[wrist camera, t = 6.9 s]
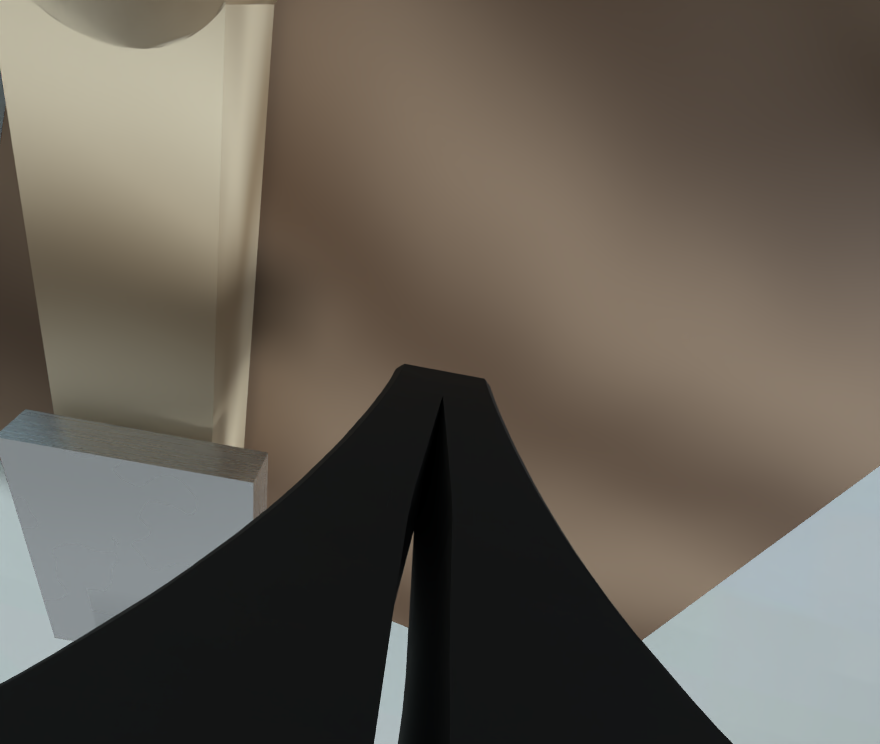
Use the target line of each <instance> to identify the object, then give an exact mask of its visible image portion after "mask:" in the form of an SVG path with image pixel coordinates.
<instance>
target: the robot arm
mask: <svg viewBox="0 0 880 744" xmlns="http://www.w3.org/2000/svg"><path fill="white" fill-rule="evenodd" d="M413 532H414V536H413ZM412 536H413V553H412V571H411V590H410V609H409V627H408V646H407V665H406V680H405V691H404V701H403V711H402V719H401V726H400V733H399V740H398V744H732V743H731V741H730V740H729V739H728V738H727V737H726V736H725V735H724V734H723V733H722V732H721V731H720V730H719V729H718V728H717V727H716V726H715V725H714V723H713V722H712V721H711V720H710V719H709V718H708V717H707V716H706V715H705V713H704V712H703V711H702V710H701V709H700V708H699V707H698V706H697V705H696V704H695V702H694V701H693V700H692V699H691V698H690V697H689V696H688V694H687V693H686V692H685V691H684V690H683V688H682V687H681V686H680V685H679V684H678V683H677V681H676V680H675V679H674V678H673V677H672V676H671V674H670V673H669V672H668V671H667V670H666V669H665V667H664V666H663V665H662V664H661V663H660V662H659V660H658V659H657V658H656V657H655V656H654V655H653V653H652V652H651V651H650V650H649V649H648V647H647V646H646V645H645V644H644V643H643V642H642V640H641V639H640V638H639V637H638V636H637V635H636V633H635V632H634V631H633V630H632V628H631V627H630V626H629V625H628V623H627V622H626V621H625V619H624V618H623V617H622V616H621V614H620V613H619V612H618V610H617V609H616V608H615V606H614V605H613V604H612V603H611V601H610V600H609V599H608V597H607V596H606V594H605V593H604V592H603V590H602V589H601V587H600V586H599V585H598V583H597V582H596V580H595V579H594V578H593V576H592V575H591V574H590V572H589V571H588V569H587V568H586V566H585V565H584V564H583V562H582V561H581V559H580V558H579V556H578V555H577V553H576V552H575V550H574V549H573V547H572V546H571V544H570V542H569V541H568V539H567V538H566V536H565V535H564V533H563V531H562V530H561V528H560V527H559V525H558V523H557V522H556V520H555V518H554V517H553V515H552V513H551V512H550V510H549V508H548V507H547V505H546V503H545V502H544V500H543V498H542V496H541V494H540V493H539V491H538V489H537V487H536V486H535V484H534V482H533V480H532V478H531V476H530V474H529V472H528V470H527V468H526V467H525V465H524V463H523V461H522V459H521V457H520V455H519V453H518V451H517V449H516V447H515V445H514V443H513V441H512V439H511V436H510V434H509V432H508V430H507V428H506V425H505V423H504V421H503V419H502V416H501V414H500V411H499V409H498V406H497V404H496V401H495V399H494V396H493V393H492V391H491V388H490V386H489V384H488V383H487V381H486V380H485V379H484V378H479V377H473V376H468V375H463V374H457V373H452V372H447V371H441V370H436V369H431V368H425V367H420V366H415V365H409V364H403V365H401V366H400V367H398V368H396V369H395V371H394V373H393V375H392V377H391V378H390V380H389V382H388V383H387V385H386V386H385V388H384V389H383V390H382V392H381V393H380V394H379V396H378V397H377V398H376V400H375V401H374V402H373V403H372V405H371V406H370V407H369V408H368V410H367V411H366V412H365V413H364V414H363V415H362V417H361V418H360V419H359V420H358V421H357V422H356V423H355V425H354V426H353V427H352V428H351V429H350V430H349V431H348V432H347V434H346V435H345V436H344V437H343V438H342V439H341V440H340V441H339V442H338V443H337V444H336V445H335V446H334V447H333V448H332V449H331V450H330V451H329V452H328V453H327V454H326V455H325V456H324V457H323V458H322V459H321V460H320V461H319V462H318V463H317V464H316V465H315V466H314V467H313V468H312V469H311V470H310V471H309V472H308V473H307V474H306V475H305V476H304V477H303V478H302V479H301V480H299V481H298V482H297V483H296V484H295V485H294V486H293V487H292V488H291V489H289V490H288V491H287V492H286V493H285V494H284V495H283V496H281V497H280V498H279V499H278V500H277V501H276V502H274V503H273V504H272V505H271V506H270V507H269V508H267V509H266V510H265V511H264V512H262V513H261V514H260V515H259V516H257V517H256V518H255V519H254V520H252V521H251V522H250V523H249V524H247V525H246V526H245V527H244V528H242V529H241V530H240V531H239V532H237V533H236V534H235V535H233V536H232V537H231V538H229V539H228V540H226V541H225V542H224V543H222V544H221V545H220V546H218V547H217V548H216V549H214V550H213V551H211V552H210V553H209V554H207V555H206V556H205V557H203V558H202V559H200V560H199V561H198V562H196V563H195V564H194V565H192V566H191V567H190V568H188V569H187V570H185V571H184V572H182V573H181V574H179V575H178V576H176V577H175V578H174V579H172V580H171V581H169V582H168V583H166V584H165V585H163V586H162V587H160V588H159V589H157V590H156V591H154V592H153V593H151V594H150V595H148V596H146V597H145V598H143V599H142V600H140V601H138V602H137V603H135V604H133V605H132V606H130V607H129V608H127V609H125V610H124V611H122V612H121V613H119V614H117V615H116V616H114V617H112V618H111V619H109V620H108V621H106V622H104V623H103V624H101V625H99V626H98V627H96V628H95V629H93V630H91V631H90V632H88V633H87V634H85V635H83V636H82V637H80V638H78V639H77V640H75V641H74V642H72V643H70V644H69V645H67V646H66V647H64V648H62V649H61V650H59V651H57V652H56V653H54V654H52V655H51V656H49V657H47V658H46V659H44V660H42V661H40V662H39V663H37V664H35V665H33V666H32V667H30V668H28V669H26V670H25V671H23V672H21V673H20V674H18V675H16V676H14V677H12V678H10V679H8V680H7V681H5V682H3V683H1V684H0V744H374V739H375V732H376V725H377V718H378V711H379V705H380V698H381V691H382V684H383V677H384V671H385V664H386V657H387V650H388V643H389V637H390V630H391V623H392V617H393V610H394V605H395V601H396V597H397V593H398V589H399V586H400V582H401V578H402V574H403V570H404V566H405V563H406V559H407V555H408V551H409V547H410V544H411V540H412Z"/></svg>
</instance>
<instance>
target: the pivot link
mask: <svg viewBox="0 0 880 744" xmlns="http://www.w3.org/2000/svg"><path fill="white" fill-rule="evenodd" d="M276 2H277V0H0V69H1V76H2V82H3V89H4V95H5V102H6V108H7V114H8V121H9V127H10V134H11V140H12V147H13V153H14V159H15V166H16V172H17V179H18V185H19V191H20V198H21V204H22V211H23V217H24V224H25V230H26V236H27V243H28V249H29V256H30V262H31V269H32V275H33V281H34V288H35V294H36V301H37V307H38V314H39V320H40V326H41V333H42V339H43V346H44V352H45V359H46V365H47V371H48V378H49V384H50V391H51V397H52V404H53V410H54V414H56V415H61V416H67V417H72V418H78V419H84V420H89V421H95V422H100V423H106V424H111V425H117V426H123V427H128V428H134V429H139V430H145V431H150V432H156V433H162V434H167V435H173V436H178V437H184V438H189V439H195V440H201V441H206V442H212V443H217V444H223V445H229V446H234V447H240V448H244V439H245V424H246V410H247V395H248V381H249V366H250V352H251V337H252V322H253V308H254V293H255V279H256V264H257V250H258V235H259V220H260V206H261V191H262V177H263V162H264V148H265V133H266V119H267V104H268V89H269V75H270V60H271V46H272V31H273V17H274V4H275V3H276Z"/></svg>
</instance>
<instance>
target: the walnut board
mask: <svg viewBox="0 0 880 744" xmlns="http://www.w3.org/2000/svg"><path fill="white" fill-rule="evenodd" d="M403 364H409V365H415V366H420V367H425V368H431V369H436V370H441V371H447V372H452V373H457V374H463V375H468V376H473V377H479V378H484V379H485V380H486V381H487V383H488V384H489V386H490V388H491V391H492V393H493V396H494V399H495V401H496V404H497V406H498V409H499V411H500V414H501V416H502V419H503V421H504V423H505V425H506V428H507V430H508V432H509V434H510V436H511V439H512V441H513V443H514V445H515V447H516V449H517V451H518V453H519V455H520V457H521V459H522V461H523V463H524V465H525V467H526V468H527V470H528V472H529V474H530V476H531V478H532V480H533V482H534V484H535V486H536V487H537V489H538V491H539V493H540V494H541V496H542V498H543V500H544V502H545V503H546V505H547V507H548V508H549V510H550V512H551V513H552V515H553V517H554V518H555V520H556V522H557V523H558V525H559V527H560V528H561V530H562V531H563V533H564V535H565V536H566V538H567V539H568V541H569V542H570V544H571V546H572V547H573V549H574V550H575V552H576V553H577V555H578V556H579V558H580V559H581V561H582V562H583V564H584V565H585V566H586V568H587V569H588V571H589V572H590V574H591V575H592V576H593V578H594V579H595V580H596V582H597V583H598V585H599V586H600V587H601V589H602V590H603V592H604V593H605V594H606V596H607V597H608V599H609V600H610V601H611V603H612V604H613V605H614V606H615V608H616V609H617V610H618V612H619V613H620V614H621V616H622V617H623V618H624V619H625V621H626V622H627V623H628V625H629V626H630V627H631V628H632V630H633V631H634V632H635V633H636V635H637V636H638V637H639V638H640V639H641V640H643V639H644V638H646V637H647V636H648V635H650V634H651V633H652V632H654V631H655V630H656V629H658V628H659V627H661V626H662V625H663V624H665V623H666V622H667V621H669V620H670V619H671V618H673V617H674V616H676V615H677V614H678V613H680V612H681V611H682V610H684V609H685V608H686V607H688V606H689V605H691V604H692V603H693V602H695V601H696V600H697V599H699V598H700V597H701V596H703V595H704V594H706V593H707V592H708V591H710V590H711V589H712V588H714V587H715V586H716V585H718V584H719V583H721V582H722V581H723V580H725V579H726V578H727V577H729V576H730V575H731V574H733V573H734V572H736V571H737V570H738V569H740V568H741V567H742V566H744V565H745V564H746V563H748V562H749V561H751V560H752V559H753V558H755V557H756V556H757V555H759V554H760V553H761V552H763V551H764V550H766V549H767V548H768V547H770V546H771V545H772V544H774V543H775V542H776V541H778V540H779V539H781V538H782V537H783V536H785V535H786V534H787V533H789V532H790V531H791V530H793V529H794V528H796V527H797V526H798V525H800V524H801V523H802V522H804V521H805V520H806V519H808V518H809V517H811V516H812V515H813V514H815V513H816V512H817V511H819V510H820V509H821V508H823V507H824V506H826V505H827V504H828V503H830V502H831V501H832V500H834V499H835V498H836V497H838V496H839V495H841V494H842V493H843V492H845V491H846V490H847V489H849V488H850V487H851V486H853V485H854V484H856V483H857V482H858V481H860V480H861V479H862V478H864V477H865V476H866V475H868V474H869V473H871V472H872V471H873V470H875V469H876V468H877V467H879V466H880V0H277V2H276V3H275V4H274V17H273V31H272V46H271V60H270V75H269V89H268V104H267V119H266V133H265V148H264V162H263V177H262V191H261V206H260V220H259V235H258V250H257V264H256V279H255V293H254V308H253V322H252V337H251V352H250V366H249V381H248V395H247V410H246V424H245V439H244V448H245V449H251V450H256V451H262V452H268V481H267V508H269V507H270V506H271V505H272V504H273V503H274V502H276V501H277V500H278V499H279V498H280V497H281V496H283V495H284V494H285V493H286V492H287V491H288V490H289V489H291V488H292V487H293V486H294V485H295V484H296V483H297V482H298V481H299V480H301V479H302V478H303V477H304V476H305V475H306V474H307V473H308V472H309V471H310V470H311V469H312V468H313V467H314V466H315V465H316V464H317V463H318V462H319V461H320V460H321V459H322V458H323V457H324V456H325V455H326V454H327V453H328V452H329V451H330V450H331V449H332V448H333V447H334V446H335V445H336V444H337V443H338V442H339V441H340V440H341V439H342V438H343V437H344V436H345V435H346V434H347V432H348V431H349V430H350V429H351V428H352V427H353V426H354V425H355V423H356V422H357V421H358V420H359V419H360V418H361V417H362V415H363V414H364V413H365V412H366V411H367V410H368V408H369V407H370V406H371V405H372V403H373V402H374V401H375V400H376V398H377V397H378V396H379V394H380V393H381V392H382V390H383V389H384V388H385V386H386V385H387V383H388V382H389V380H390V378H391V377H392V375H393V373H394V371H395V369H396V368H398V367H400V366H401V365H403ZM25 409H28V410H33V411H39V412H45V413H50V414H54V410H53V404H52V397H51V391H50V384H49V378H48V371H47V365H46V359H45V352H44V346H43V339H42V333H41V326H40V320H39V314H38V307H37V301H36V294H35V288H34V281H33V275H32V269H31V262H30V256H29V249H28V243H27V236H26V230H25V224H24V217H23V211H22V204H21V198H20V191H19V185H18V179H17V172H16V166H15V159H14V153H13V147H12V140H11V134H10V127H9V121H8V114H7V108H6V106H5V113H4V120H3V126H2V133H1V140H0V431H1V430H2V429H4V428H5V427H6V426H7V425H8V424H9V423H10V422H12V421H13V420H14V419H15V418H16V417H17V416H18V415H19V414H21V413H22V412H23V411H24V410H25ZM0 460H1V458H0ZM413 536H414V532H413ZM413 536H412V540H411V544H410V547H409V551H408V555H407V559H406V563H405V566H404V570H403V574H402V578H401V582H400V586H399V589H398V593H397V597H396V601H395V605H394V610H393V617H392V621H393V622H396V623H398V624H401V625H403V626H405V627H409V609H410V590H411V571H412V553H413Z"/></svg>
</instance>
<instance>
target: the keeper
mask: <svg viewBox="0 0 880 744" xmlns="http://www.w3.org/2000/svg"><path fill="white" fill-rule="evenodd" d="M0 458H1V461H2V465H3V468H4V471H5V475H6V478H7V481H8V485H9V488H10V491H11V494H12V498H13V501H14V504H15V508H16V511H17V514H18V518H19V521H20V524H21V527H22V531H23V534H24V537H25V541H26V544H27V547H28V551H29V554H30V557H31V560H32V564H33V567H34V570H35V574H36V577H37V580H38V584H39V587H40V590H41V594H42V597H43V600H44V603H45V607H46V610H47V613H48V617H49V620H50V623H51V627H52V630H53V633H54V636H55V638H59V639H65V640H71V641H75V640H77V639H78V638H80V637H82V636H83V635H85V634H87V633H88V632H90V631H91V630H93V629H95V628H96V627H98V626H99V625H101V624H103V623H104V622H106V621H108V620H109V619H111V618H112V617H114V616H116V615H117V614H119V613H121V612H122V611H124V610H125V609H127V608H129V607H130V606H132V605H133V604H135V603H137V602H138V601H140V600H142V599H143V598H145V597H146V596H148V595H150V594H151V593H153V592H154V591H156V590H157V589H159V588H160V587H162V586H163V585H165V584H166V583H168V582H169V581H171V580H172V579H174V578H175V577H176V576H178V575H179V574H181V573H182V572H184V571H185V570H187V569H188V568H190V567H191V566H192V565H194V564H195V563H196V562H198V561H199V560H200V559H202V558H203V557H205V556H206V555H207V554H209V553H210V552H211V551H213V550H214V549H216V548H217V547H218V546H220V545H221V544H222V543H224V542H225V541H226V540H228V539H229V538H231V537H232V536H233V535H235V534H236V533H237V532H239V531H240V530H241V529H242V528H244V527H245V526H246V525H247V524H249V523H250V522H251V521H252V520H254V519H255V518H256V517H257V516H259V515H260V514H261V513H262V512H264V511H265V510H266V509H267V481H268V452H262V451H256V450H251V449H245V448H240V447H234V446H229V445H223V444H217V443H212V442H206V441H201V440H195V439H189V438H184V437H178V436H173V435H167V434H162V433H156V432H150V431H145V430H139V429H134V428H128V427H123V426H117V425H111V424H106V423H100V422H95V421H89V420H84V419H78V418H72V417H67V416H61V415H56V414H50V413H45V412H39V411H33V410H28V409H25V410H24V411H23V412H22V413H21V414H19V415H18V416H17V417H16V418H15V419H14V420H13V421H12V422H10V423H9V424H8V425H7V426H6V427H5V428H4V429H2V430H1V431H0Z"/></svg>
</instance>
